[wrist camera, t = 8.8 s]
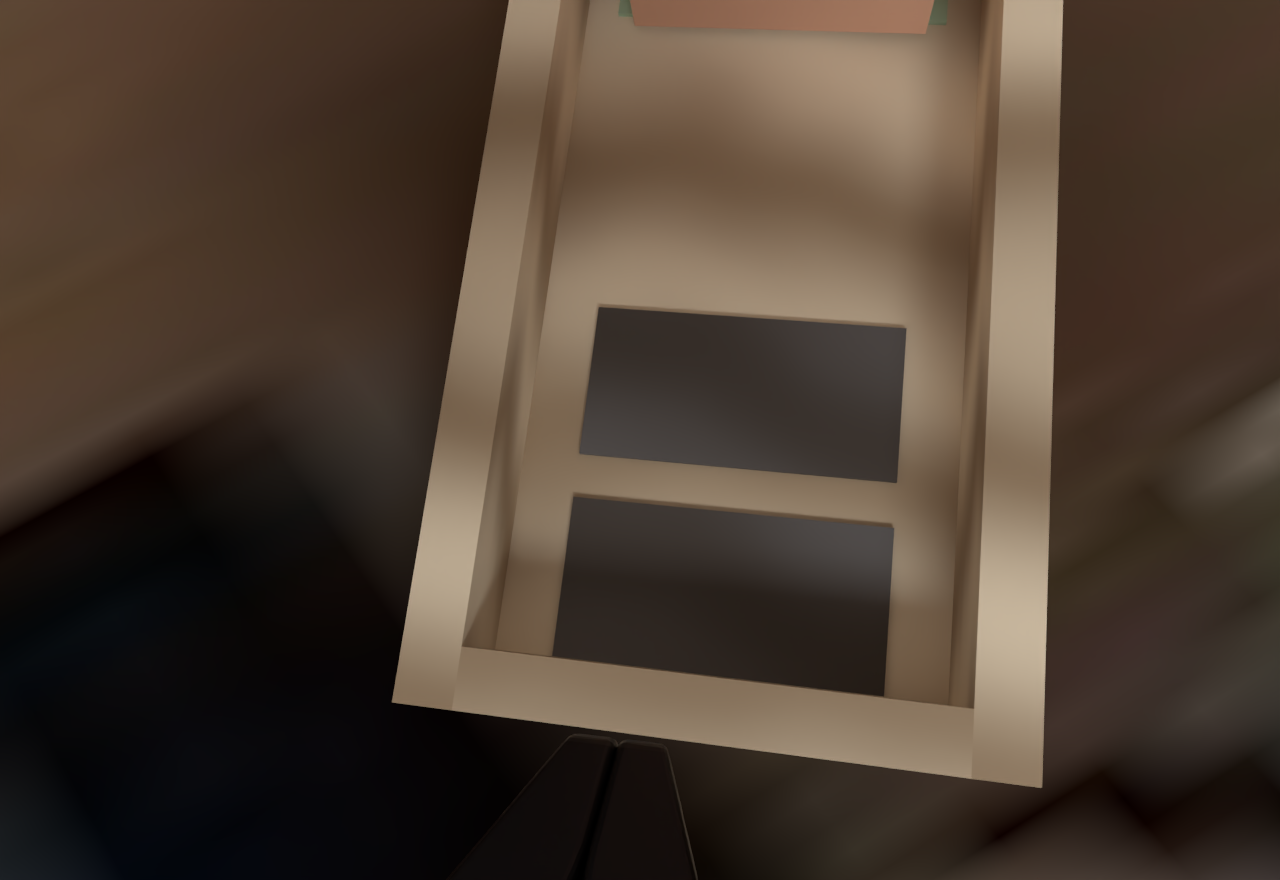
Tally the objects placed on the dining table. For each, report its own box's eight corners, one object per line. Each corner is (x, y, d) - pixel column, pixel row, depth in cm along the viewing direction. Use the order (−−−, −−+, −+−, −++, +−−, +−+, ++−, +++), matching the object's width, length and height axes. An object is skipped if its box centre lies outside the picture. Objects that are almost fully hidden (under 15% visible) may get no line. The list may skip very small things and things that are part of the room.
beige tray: (995, 768, 21) (1041, 787, 17) (447, 697, 22) (392, 702, 19) (1030, -183, 26) (1071, -312, 22) (584, -181, 27) (558, -302, 24)
